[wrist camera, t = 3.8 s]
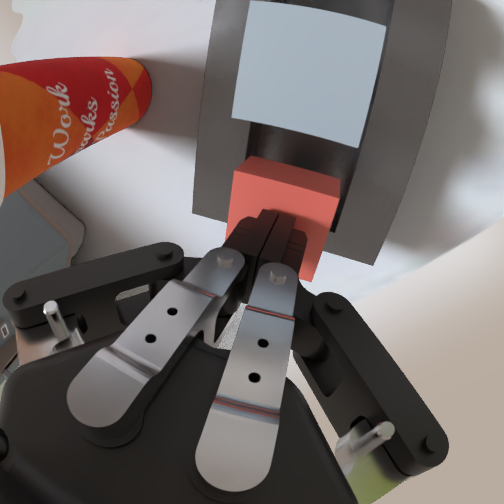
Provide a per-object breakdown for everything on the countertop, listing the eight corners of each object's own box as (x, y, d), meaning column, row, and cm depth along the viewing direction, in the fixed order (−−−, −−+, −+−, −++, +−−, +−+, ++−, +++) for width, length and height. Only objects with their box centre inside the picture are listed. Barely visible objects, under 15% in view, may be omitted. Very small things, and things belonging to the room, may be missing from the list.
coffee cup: (131, 158, 23) (-17, 253, 11) (77, 104, 21) (-67, 165, 9) (186, 79, 18) (-12, 128, 6) (119, 26, 17) (-57, 46, 5)
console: (255, -62, 11) (235, -85, 8) (436, -23, 9) (454, -42, 6) (215, 190, 22) (192, 213, 19) (369, 234, 21) (373, 265, 18)
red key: (264, 144, 16) (234, 170, 12) (341, 164, 16) (339, 198, 12) (252, 211, 19) (223, 255, 15) (321, 230, 18) (311, 282, 14)
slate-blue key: (280, 24, 11) (250, 0, 7) (371, 44, 11) (386, 26, 7) (266, 104, 14) (231, 117, 10) (352, 126, 13) (357, 148, 9)
